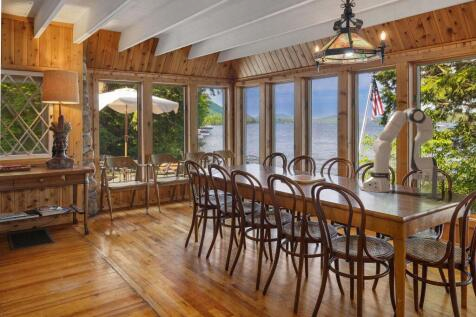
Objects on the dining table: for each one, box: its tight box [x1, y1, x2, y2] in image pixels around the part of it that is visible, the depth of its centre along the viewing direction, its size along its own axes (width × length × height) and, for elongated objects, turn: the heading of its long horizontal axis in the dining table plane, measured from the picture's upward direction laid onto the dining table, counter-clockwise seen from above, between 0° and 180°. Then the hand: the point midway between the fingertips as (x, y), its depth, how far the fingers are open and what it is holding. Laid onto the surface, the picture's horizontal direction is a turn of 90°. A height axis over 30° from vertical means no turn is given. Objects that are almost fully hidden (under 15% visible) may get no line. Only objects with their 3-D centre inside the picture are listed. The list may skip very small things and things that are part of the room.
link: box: [421, 168, 432, 190], centre depth 274 cm, size 6×5×14 cm
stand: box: [426, 166, 443, 200], centre depth 264 cm, size 9×11×22 cm
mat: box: [418, 192, 432, 197], centre depth 276 cm, size 8×8×1 cm
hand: (426, 178), depth 274 cm, fingers closed on link, 6 cm apart
